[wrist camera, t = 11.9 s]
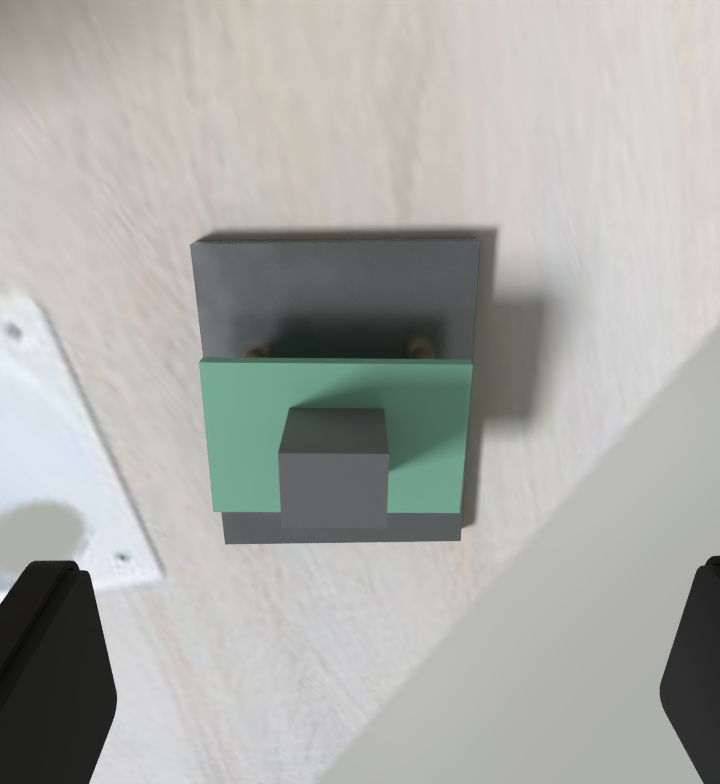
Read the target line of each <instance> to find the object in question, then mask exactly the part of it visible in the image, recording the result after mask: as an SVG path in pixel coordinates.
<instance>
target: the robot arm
mask: <svg viewBox="0 0 720 784" xmlns="http://www.w3.org/2000/svg"><path fill="white" fill-rule="evenodd" d="M660 699H661V703H662V706H663V709H664V711H665V713H666V715H667V717H668V719H669V720H670V722H671V724H672V726H673V728H674V729H675V731H676V733H677V735H678V737H679V739H680V741H681V742H682V744H683V746H684V748H685V750H686V752H687V754H688V755H689V757H690V759H691V761H692V763H693V765H694V766H695V768H696V770H697V772H698V774H699V776H700V778H701V779H702V781H703V783H704V784H720V556H713V557H711V558H709V559H708V560H707V562H706V564H705V566H700V567H699V568H698V569H697V572H696V574H695V577H694V580H693V583H692V587H691V590H690V593H689V596H688V599H687V602H686V605H685V608H684V612H683V615H682V618H681V621H680V624H679V627H678V630H677V633H676V637H675V640H674V643H673V647H672V649H671V652H670V655H669V659H668V662H667V665H666V668H665V671H664V674H663V678H662V681H661V684H660ZM116 705H117V693H116V688H115V683H114V679H113V674H112V670H111V665H110V661H109V657H108V652H107V648H106V643H105V639H104V634H103V630H102V626H101V621H100V617H99V612H98V608H97V603H96V599H95V595H94V590H93V586H92V581H91V577H90V574H89V573H88V571H85V570H79V567H78V564H77V563H76V562H75V561H33V562H31V563H30V564H29V565H28V566H27V567H26V568H25V570H24V571H23V573H22V574H21V575H20V577H19V578H18V580H17V581H16V582H15V584H14V585H13V587H12V588H11V590H10V591H9V592H8V594H7V595H6V597H5V598H4V600H3V601H2V602H1V604H0V784H89V782H90V780H91V777H92V774H93V772H94V769H95V767H96V764H97V761H98V759H99V756H100V753H101V751H102V748H103V745H104V743H105V740H106V738H107V735H108V732H109V730H110V727H111V724H112V722H113V719H114V716H115V711H116Z"/></svg>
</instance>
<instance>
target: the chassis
mask: <svg viewBox="0 0 720 784" xmlns="http://www.w3.org/2000/svg"><path fill="white" fill-rule="evenodd" d="M190 248H191V256H192V265H193V274H194V282H195V291H196V299H197V308H198V316H199V325H200V333H201V342H202V350H203V357H232V358H347V359H462V360H471V362H472V359H473V344H474V329H475V314H476V298H477V283H478V268H479V253H480V240H478V239H477V238H417V239H333V240H249V241H195V242H193V243H192V244H190ZM469 405H470V404H469ZM468 420H469V415H468ZM467 435H468V426H467ZM466 451H467V437H466V449H465V460H464V471H463V482H462V493H461V504H460V513H387V528H281V512H222V521H223V529H224V538H225V544H277V543H347V542H418V541H461V527H462V512H463V496H464V481H465V466H466Z"/></svg>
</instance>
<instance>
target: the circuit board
mask: <svg viewBox="0 0 720 784" xmlns="http://www.w3.org/2000/svg"><path fill="white" fill-rule="evenodd" d="M199 365H200V376H201V386H202V396H203V407H204V417H205V428H206V438H207V448H208V459H209V469H210V479H211V490H212V500H213V511H214V512H281V528H387V513H460V504H461V493H462V482H463V471H464V460H465V449H466V437H467V426H468V415H469V404H470V393H471V382H472V371H473V364H472V362H471V360H462V359H347V358H232V357H203V358H202V359H201V361H200V362H199Z"/></svg>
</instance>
